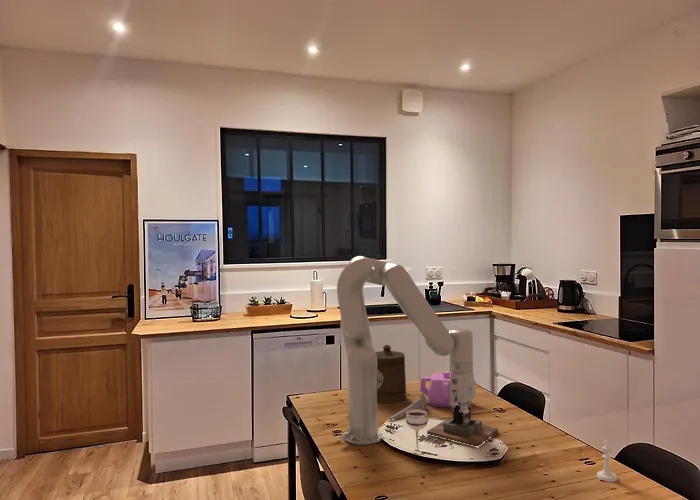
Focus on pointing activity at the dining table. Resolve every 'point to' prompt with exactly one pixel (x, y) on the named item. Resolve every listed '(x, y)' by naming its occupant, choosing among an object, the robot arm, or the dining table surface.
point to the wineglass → (416, 420)
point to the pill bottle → (464, 415)
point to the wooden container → (390, 376)
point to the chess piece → (606, 466)
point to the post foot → (464, 432)
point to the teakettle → (438, 389)
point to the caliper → (412, 407)
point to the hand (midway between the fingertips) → (462, 420)
